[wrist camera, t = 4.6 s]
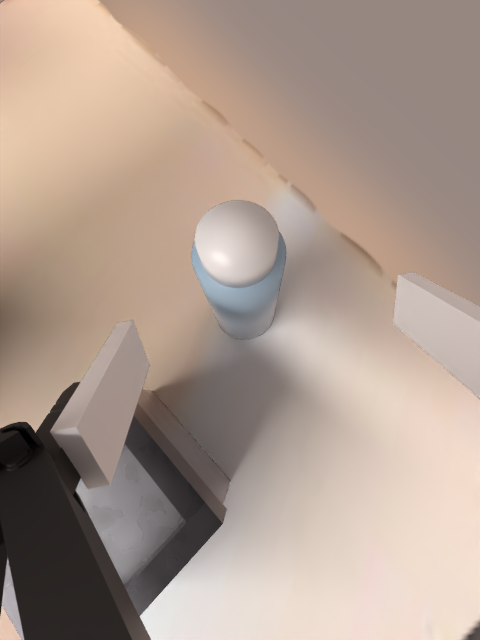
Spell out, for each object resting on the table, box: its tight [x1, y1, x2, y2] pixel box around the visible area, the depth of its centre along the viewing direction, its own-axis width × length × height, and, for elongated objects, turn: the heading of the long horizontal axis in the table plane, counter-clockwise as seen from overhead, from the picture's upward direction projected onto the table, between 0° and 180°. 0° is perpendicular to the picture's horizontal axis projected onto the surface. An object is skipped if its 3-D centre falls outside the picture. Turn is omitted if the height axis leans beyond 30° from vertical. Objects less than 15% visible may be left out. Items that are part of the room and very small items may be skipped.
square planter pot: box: [2, 390, 230, 640], centre depth 18 cm, size 9×9×8 cm
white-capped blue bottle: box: [191, 200, 286, 340], centre depth 19 cm, size 5×5×12 cm
